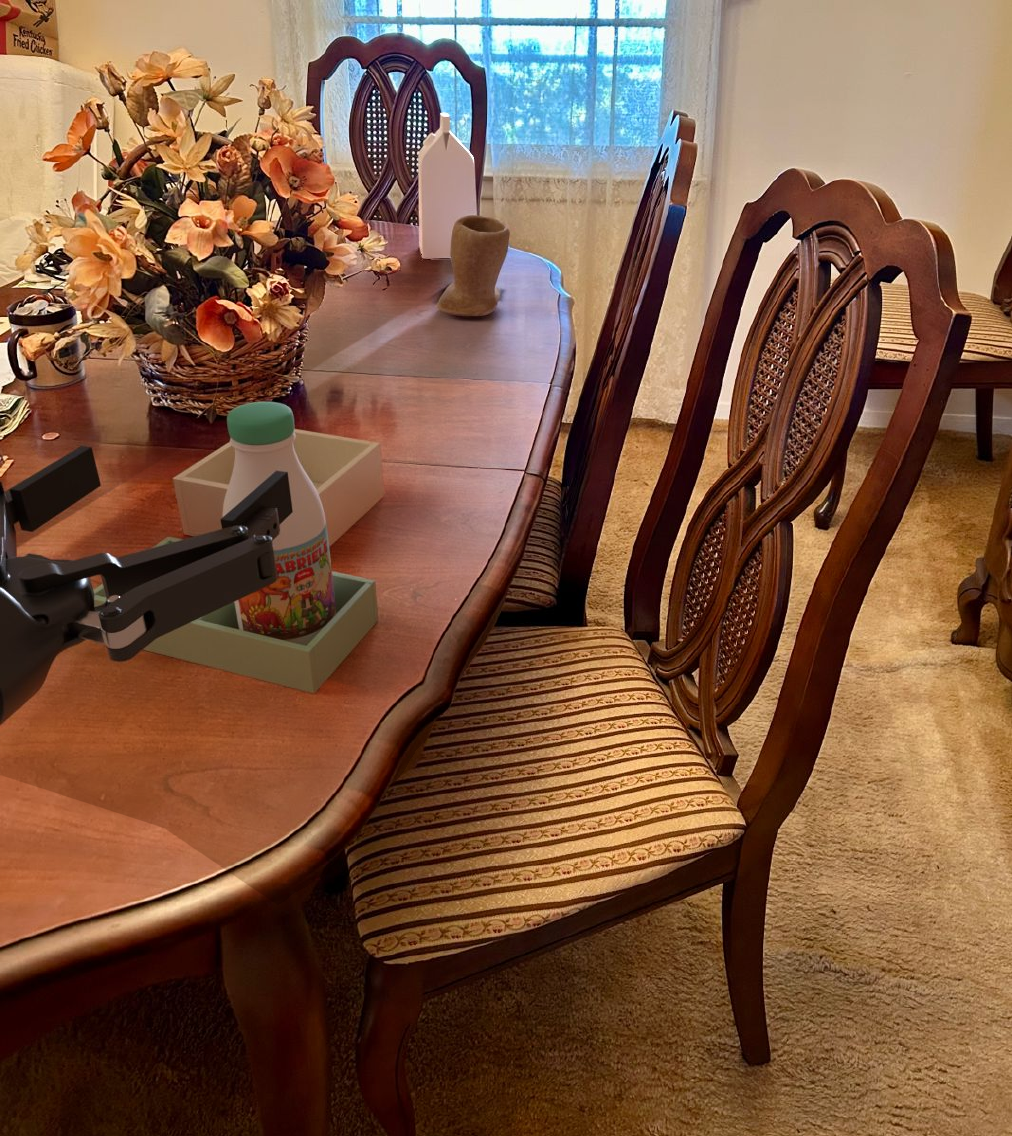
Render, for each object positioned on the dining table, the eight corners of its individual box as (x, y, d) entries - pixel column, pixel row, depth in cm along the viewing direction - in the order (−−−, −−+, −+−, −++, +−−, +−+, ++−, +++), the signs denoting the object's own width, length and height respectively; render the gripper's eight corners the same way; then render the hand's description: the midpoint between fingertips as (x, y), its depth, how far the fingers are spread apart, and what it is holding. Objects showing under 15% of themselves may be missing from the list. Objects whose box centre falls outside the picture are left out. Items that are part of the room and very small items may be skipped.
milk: (479, 258, 190) (477, 117, 177) (422, 259, 189) (417, 118, 175) (472, 245, 200) (471, 111, 187) (419, 246, 199) (413, 111, 186)
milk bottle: (222, 647, 75) (179, 415, 65) (292, 604, 81) (262, 384, 70) (289, 682, 72) (255, 442, 61) (358, 634, 77) (337, 406, 67)
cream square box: (183, 534, 91) (172, 478, 88) (265, 474, 103) (258, 422, 100) (313, 562, 87) (307, 504, 84) (384, 496, 99) (381, 442, 96)
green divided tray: (94, 637, 76) (83, 596, 74) (176, 574, 85) (168, 535, 83) (314, 694, 70) (309, 651, 68) (378, 620, 79) (375, 580, 77)
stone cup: (502, 324, 152) (503, 227, 144) (431, 319, 153) (428, 224, 145) (516, 299, 165) (517, 209, 157) (450, 295, 166) (448, 206, 158)
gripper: (-268, 699, 45) (31, 506, 63) (186, 799, 40) (375, 557, 57) (-340, 566, 41) (0, 401, 59) (153, 656, 36) (367, 444, 53)
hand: (185, 478), depth 58 cm, fingers open, 13 cm apart
